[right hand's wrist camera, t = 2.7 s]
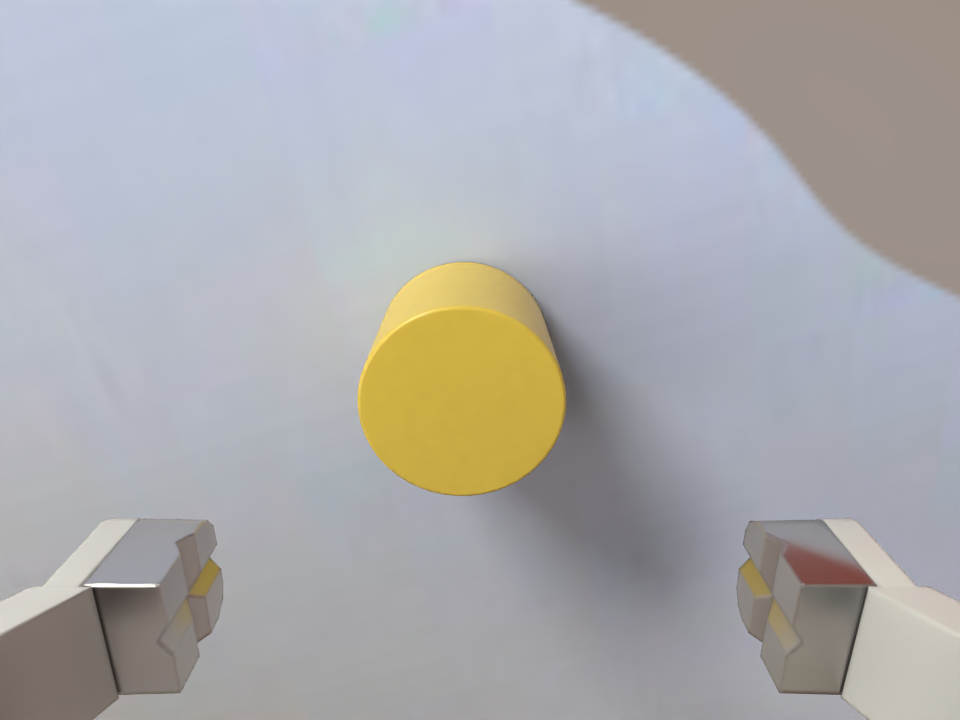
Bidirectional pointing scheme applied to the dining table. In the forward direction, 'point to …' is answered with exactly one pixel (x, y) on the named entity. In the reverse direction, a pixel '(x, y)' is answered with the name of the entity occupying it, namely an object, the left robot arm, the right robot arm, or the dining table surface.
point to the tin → (462, 382)
